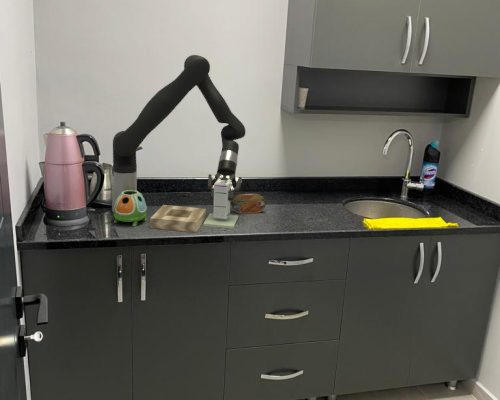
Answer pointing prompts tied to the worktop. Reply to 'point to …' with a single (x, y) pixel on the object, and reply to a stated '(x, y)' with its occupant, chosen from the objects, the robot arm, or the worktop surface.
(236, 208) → the tin
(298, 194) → the worktop surface
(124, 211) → the turtle holder
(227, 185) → the syrup box
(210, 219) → the mat
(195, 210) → the socket block
